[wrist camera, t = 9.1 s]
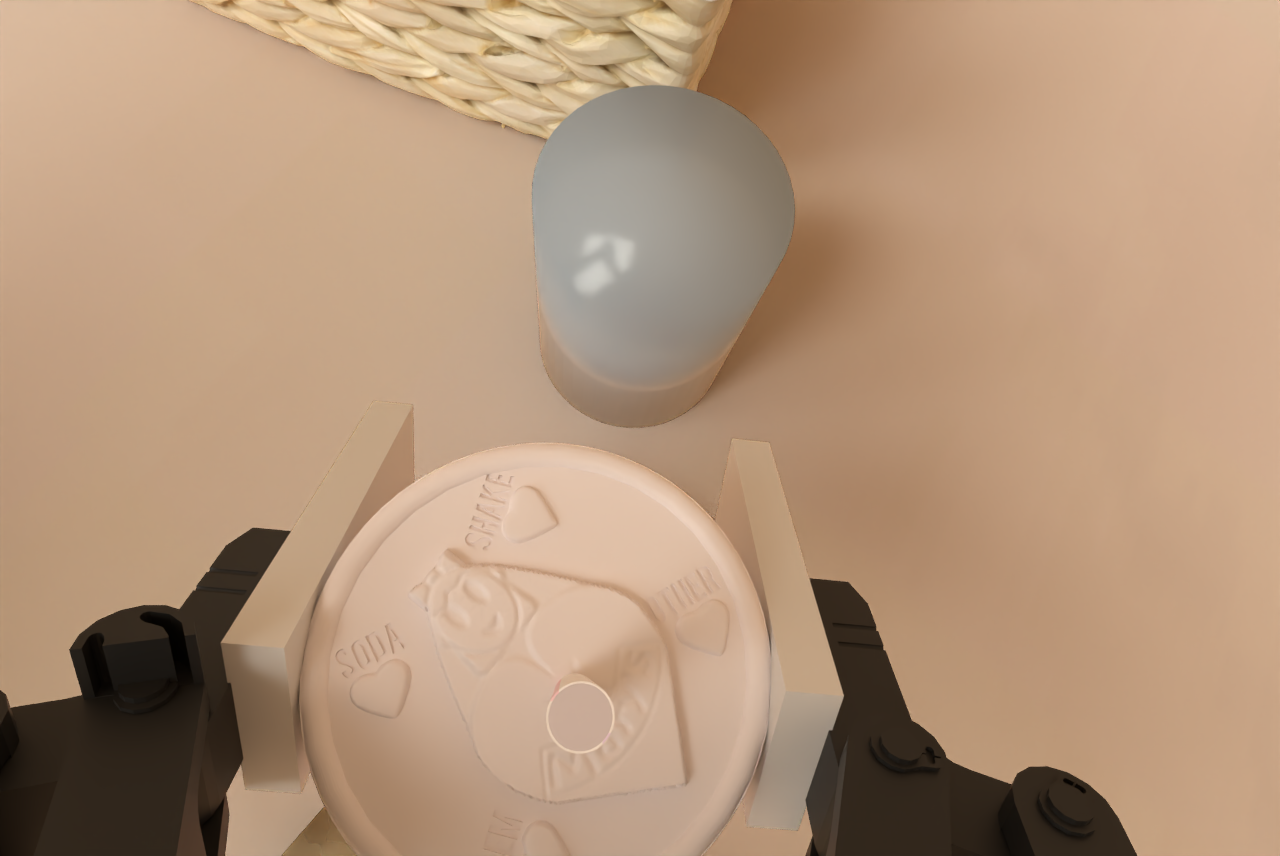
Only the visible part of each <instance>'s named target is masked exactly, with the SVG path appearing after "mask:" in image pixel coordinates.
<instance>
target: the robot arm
mask: <svg viewBox="0 0 1280 856" xmlns="http://www.w3.org/2000/svg"><path fill="white" fill-rule="evenodd" d="M412 483H414V427H413V405H412V404H403V403H393V402H384V401H373V402H372V404H371V405H370V407H369V409H368V410H367V412H366V413H365V415H364V417H363V418H362V420H361V421H360V423H359V424H358V426H357V428H356V429H355V431H354V432H353V434H352V436H351V437H350V439H349V440H348V442H347V443H346V445H345V447H344V448H343V450H342V451H341V453H340V455H339V456H338V458H337V459H336V461H335V462H334V464H333V466H332V467H331V469H330V470H329V472H328V474H327V475H326V477H325V478H324V480H323V481H322V483H321V485H320V486H319V488H318V489H317V491H316V493H315V494H314V496H313V497H312V499H311V500H310V502H309V504H308V505H307V507H306V508H305V510H304V512H303V513H302V515H301V516H300V518H299V519H298V521H297V523H296V524H295V526H294V527H293V529H292V531H283V530H272V529H262V528H252V529H250V530H249V531H247V532H246V533H244V534H243V535H241V536H240V537H238V538H237V539H235V540H234V541H232V542H231V543H229V544H228V545H226V546H225V548H224V549H223V551H222V552H221V553H220V555H219V556H218V557H217V559H216V560H215V561H214V563H213V564H212V566H211V567H210V571H209V572H206V574H205V575H204V577H203V578H202V579H201V581H200V582H199V583H198V585H197V588H196V591H193V592H192V593H191V594H190V596H189V597H188V598H187V600H186V601H185V602H184V604H183V605H182V607H181V608H180V609H176V608H173V607H169V606H166V605H143V606H138V607H134V608H129V609H125V610H120V611H118V612H116V613H113V614H111V615H109V616H107V617H104V618H102V619H100V620H98V621H96V622H95V623H94V624H92V625H91V626H90V627H88V628H87V629H86V630H85V631H83V632H82V633H81V634H79V636H78V637H77V639H76V640H75V642H74V643H73V645H72V646H71V648H70V649H69V650H70V654H71V657H72V661H73V664H74V668H75V671H76V675H77V678H78V681H79V685H80V688H81V692H82V695H81V696H77V697H72V698H68V699H63V700H57V701H50V702H44V703H38V704H31V705H25V706H19V707H12V708H10V705H9V702H8V699H7V696H6V694H4V693H3V692H2V691H1V690H0V856H225V850H226V841H227V832H228V823H229V809H228V802H227V796H226V792H227V790H228V788H229V786H230V784H231V782H232V780H233V778H234V776H235V774H236V772H237V771H238V769H239V767H240V765H241V766H242V772H243V778H244V784H245V790H258V791H271V792H285V793H298V794H301V793H302V791H303V788H304V786H305V784H306V781H307V779H308V776H309V774H310V767H309V764H308V760H307V756H306V753H305V748H304V742H303V736H302V730H301V720H300V705H299V694H300V674H301V669H302V664H303V658H304V651H305V647H306V643H307V638H308V633H309V628H310V623H311V619H312V616H313V613H314V610H315V607H316V604H317V602H318V600H319V597H320V595H321V593H322V591H323V588H324V586H325V584H326V582H327V580H328V578H329V576H330V574H331V573H332V571H333V569H334V567H335V565H336V563H337V562H338V560H339V559H340V557H341V556H342V554H343V553H344V551H345V550H346V548H347V547H348V545H349V544H350V542H351V541H352V540H353V539H354V537H355V536H356V535H357V534H358V533H359V531H360V530H361V529H362V528H363V526H364V525H365V524H366V523H367V522H368V521H369V520H370V519H371V518H372V517H373V516H374V515H375V514H376V513H377V512H378V511H379V510H380V509H381V508H382V507H383V506H384V505H385V504H386V503H388V502H389V501H390V500H391V499H392V498H394V497H395V496H396V495H397V494H398V493H400V492H401V491H402V490H404V489H405V488H407V487H408V486H409V485H411V484H412ZM715 522H716V523H717V525H718V526H719V527H720V528H721V530H722V531H723V532H724V533H725V535H726V536H727V538H728V539H729V541H730V542H731V544H732V545H733V547H734V548H735V550H736V551H737V553H738V554H739V556H740V558H741V560H742V562H743V564H744V566H745V567H746V569H747V571H748V573H749V576H750V578H751V580H752V583H753V585H754V587H755V590H756V592H757V595H758V598H759V601H760V604H761V608H762V611H763V614H764V618H765V623H766V627H767V632H768V637H769V645H770V653H771V670H770V671H771V686H770V701H769V720H768V727H767V732H766V736H765V740H764V744H763V748H762V752H761V755H760V758H759V761H758V764H757V767H756V770H755V772H754V775H753V778H752V780H751V782H750V784H749V786H748V789H747V791H746V793H745V795H744V797H743V805H744V813H745V821H746V827H756V828H769V829H782V830H796V831H798V829H799V826H800V823H801V820H802V817H803V814H804V812H805V809H806V806H807V810H808V815H809V820H810V825H811V829H812V834H813V836H812V839H811V842H810V845H809V847H808V850H807V853H806V856H1137V854H1136V852H1135V850H1134V848H1133V846H1132V844H1131V842H1130V840H1129V838H1128V836H1127V834H1126V832H1125V830H1124V828H1123V826H1122V824H1121V822H1120V820H1119V818H1118V817H1117V815H1116V814H1115V813H1114V811H1113V810H1112V808H1111V807H1110V805H1109V804H1108V802H1107V801H1106V800H1105V799H1104V798H1103V797H1102V796H1101V795H1100V794H1099V793H1097V792H1096V791H1095V790H1094V789H1093V788H1092V787H1091V786H1089V785H1088V784H1087V783H1085V782H1083V781H1082V780H1080V779H1078V778H1076V777H1075V776H1073V775H1071V774H1069V773H1068V772H1064V771H1061V770H1057V769H1054V768H1051V767H1047V766H1046V767H1029V768H1027V769H1025V770H1023V771H1021V772H1019V773H1018V774H1017V775H1016V777H1015V779H1014V781H1013V783H1012V785H1011V784H1008V783H1006V782H1003V781H1000V780H997V779H994V778H991V777H989V776H986V775H983V774H980V773H977V772H974V771H972V770H969V769H967V768H964V767H962V766H960V765H958V764H955V763H953V762H952V761H950V760H949V759H947V758H946V755H945V752H944V750H943V749H942V748H941V746H940V745H939V743H938V742H937V740H936V739H935V738H934V737H933V736H932V735H931V734H930V733H929V732H927V731H926V730H925V729H924V728H922V727H921V726H920V725H919V724H917V723H915V722H913V721H912V720H911V717H910V715H909V712H908V709H907V707H906V704H905V701H904V699H903V696H902V693H901V691H900V688H899V685H898V683H897V680H896V678H895V675H894V672H893V670H892V667H891V664H890V662H889V659H888V656H887V654H886V651H885V650H883V643H882V640H881V638H880V635H879V632H878V631H876V624H875V622H874V619H873V616H872V614H871V611H870V609H869V606H868V603H867V602H866V601H865V600H864V599H863V598H862V597H861V596H860V595H859V594H858V592H857V591H856V590H855V589H854V588H853V587H852V586H851V585H850V584H849V582H841V581H831V580H820V579H810V578H809V576H808V572H807V569H806V565H805V562H804V559H803V555H802V552H801V548H800V545H799V542H798V538H797V535H796V531H795V528H794V525H793V521H792V518H791V514H790V511H789V508H788V504H787V501H786V498H785V494H784V491H783V487H782V484H781V481H780V477H779V474H778V470H777V467H776V464H775V460H774V457H773V453H772V450H771V447H770V443H769V442H762V441H753V440H744V439H734V438H732V440H731V445H730V450H729V455H728V460H727V464H726V469H725V474H724V479H723V484H722V489H721V494H720V499H719V504H718V508H717V513H716V518H715Z"/></svg>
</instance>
